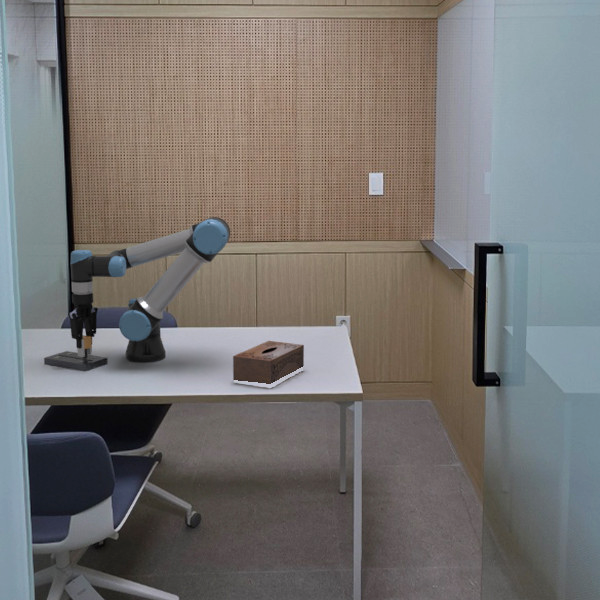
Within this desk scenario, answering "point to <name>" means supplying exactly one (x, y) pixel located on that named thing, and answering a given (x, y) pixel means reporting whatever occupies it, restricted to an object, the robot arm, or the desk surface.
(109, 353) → the desk surface
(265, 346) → the tissue box cover
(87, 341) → the dimmer fader
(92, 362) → the panel
